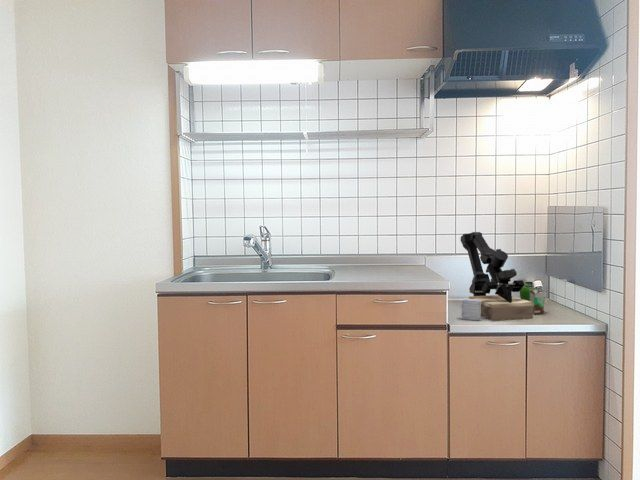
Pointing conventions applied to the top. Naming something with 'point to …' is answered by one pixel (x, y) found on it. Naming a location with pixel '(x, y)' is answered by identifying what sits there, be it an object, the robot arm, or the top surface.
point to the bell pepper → (525, 292)
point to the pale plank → (505, 302)
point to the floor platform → (504, 310)
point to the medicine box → (471, 309)
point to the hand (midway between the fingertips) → (510, 302)
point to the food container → (537, 300)
